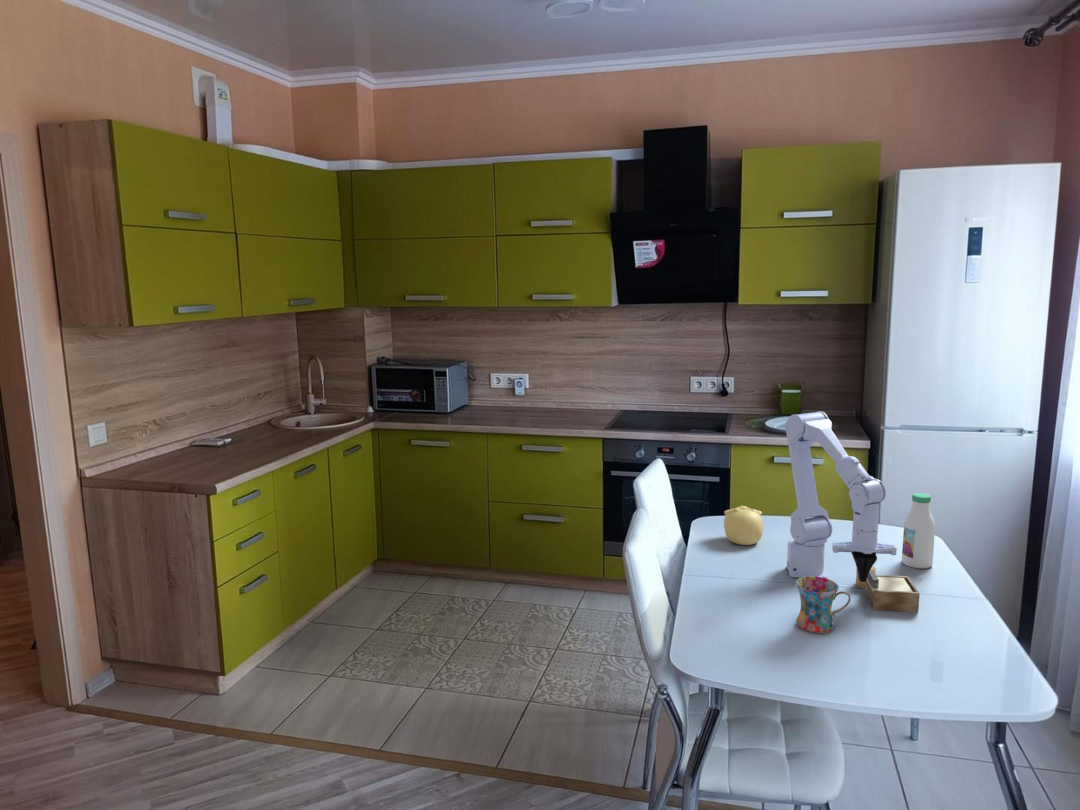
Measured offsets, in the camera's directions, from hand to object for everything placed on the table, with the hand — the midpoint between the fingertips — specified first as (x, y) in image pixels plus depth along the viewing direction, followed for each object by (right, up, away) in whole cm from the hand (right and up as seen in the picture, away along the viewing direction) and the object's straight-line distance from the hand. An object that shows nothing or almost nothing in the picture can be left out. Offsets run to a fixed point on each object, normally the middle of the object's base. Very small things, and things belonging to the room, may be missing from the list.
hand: (862, 580), depth 191 cm
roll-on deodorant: (+5, -4, +10) cm, 11 cm away
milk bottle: (+25, -1, +22) cm, 33 cm away
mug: (-15, -8, -12) cm, 21 cm away
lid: (+6, -1, -1) cm, 6 cm away
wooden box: (+7, -5, 0) cm, 9 cm away
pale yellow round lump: (-18, +2, +42) cm, 46 cm away
